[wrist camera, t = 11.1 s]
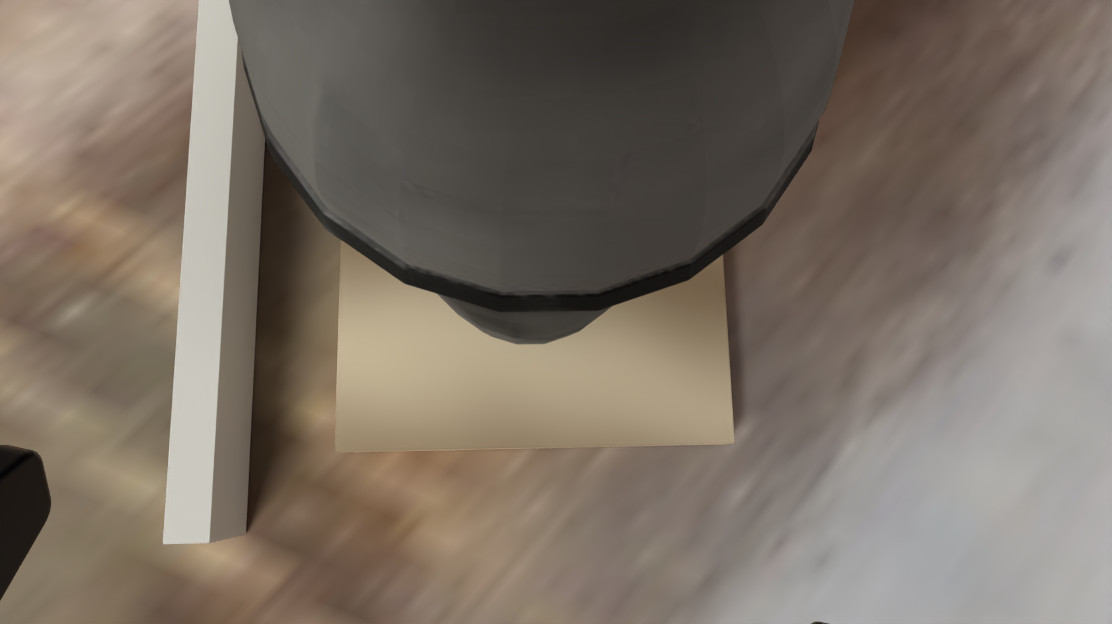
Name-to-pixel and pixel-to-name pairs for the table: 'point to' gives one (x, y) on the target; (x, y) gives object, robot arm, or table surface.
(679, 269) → the beverage cup
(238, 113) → the divider wall
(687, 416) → the coaster
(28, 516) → the robot arm
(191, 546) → the table surface
